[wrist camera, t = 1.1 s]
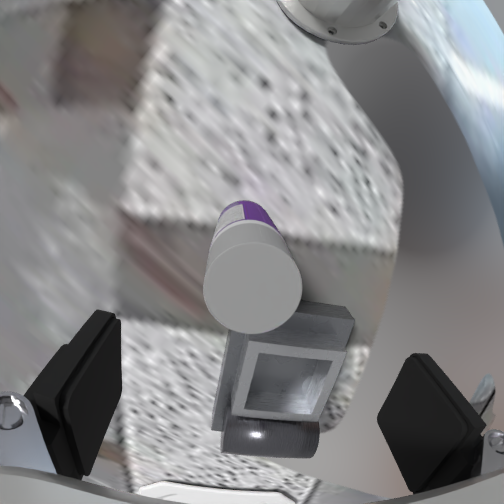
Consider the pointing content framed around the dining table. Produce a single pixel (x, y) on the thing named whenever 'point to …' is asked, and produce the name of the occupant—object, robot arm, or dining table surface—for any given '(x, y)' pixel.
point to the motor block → (280, 383)
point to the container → (250, 272)
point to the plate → (210, 494)
